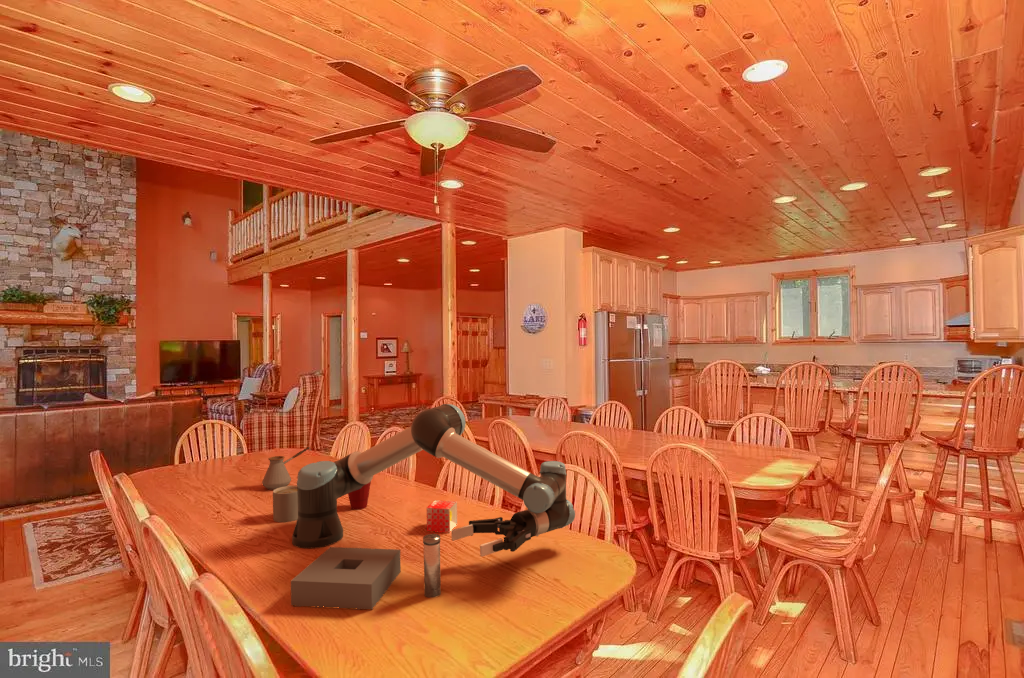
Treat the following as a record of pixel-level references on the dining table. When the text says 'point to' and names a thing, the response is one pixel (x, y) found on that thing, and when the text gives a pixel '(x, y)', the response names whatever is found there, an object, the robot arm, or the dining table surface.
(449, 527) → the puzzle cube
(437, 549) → the steel pin
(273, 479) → the coffee pot
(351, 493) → the plastic cup
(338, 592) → the block
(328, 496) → the robot arm
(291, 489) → the coffee mug
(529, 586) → the dining table surface
